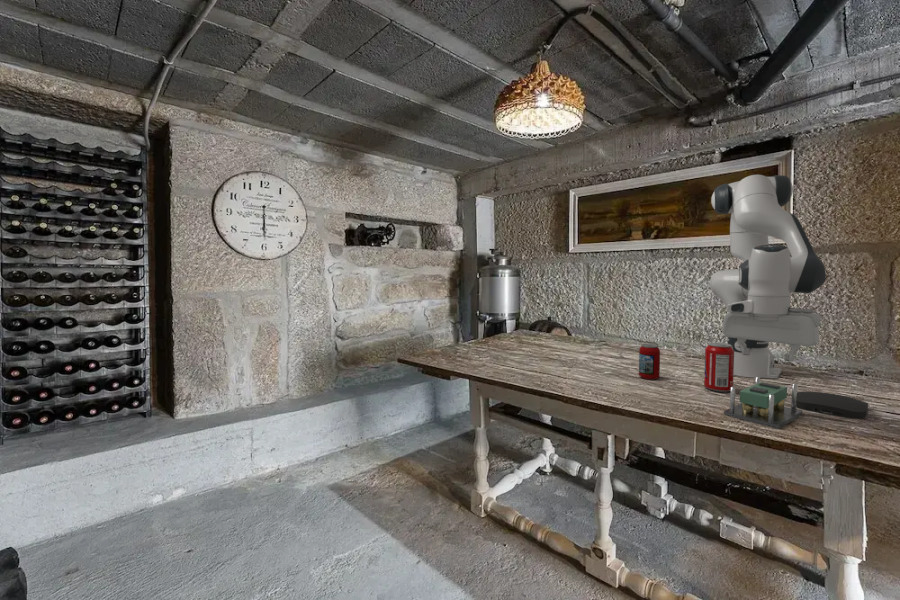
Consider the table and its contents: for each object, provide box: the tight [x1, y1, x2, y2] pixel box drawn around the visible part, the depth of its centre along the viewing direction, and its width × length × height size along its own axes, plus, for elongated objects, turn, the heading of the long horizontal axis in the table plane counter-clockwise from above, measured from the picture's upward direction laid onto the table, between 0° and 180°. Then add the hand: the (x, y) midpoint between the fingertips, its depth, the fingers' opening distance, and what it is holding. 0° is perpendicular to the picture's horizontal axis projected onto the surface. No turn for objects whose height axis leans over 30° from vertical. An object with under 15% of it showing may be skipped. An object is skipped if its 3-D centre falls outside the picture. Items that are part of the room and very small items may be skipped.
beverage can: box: [638, 343, 661, 381], centre depth 144 cm, size 7×7×12 cm
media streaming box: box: [796, 391, 869, 420], centre depth 112 cm, size 15×15×3 cm
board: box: [739, 381, 788, 408], centre depth 107 cm, size 14×6×4 cm, turn 124°
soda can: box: [703, 342, 735, 393], centre depth 129 cm, size 8×8×15 cm
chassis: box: [723, 377, 803, 430], centre depth 107 cm, size 17×12×8 cm
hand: (766, 357), depth 106 cm, fingers open, 8 cm apart
